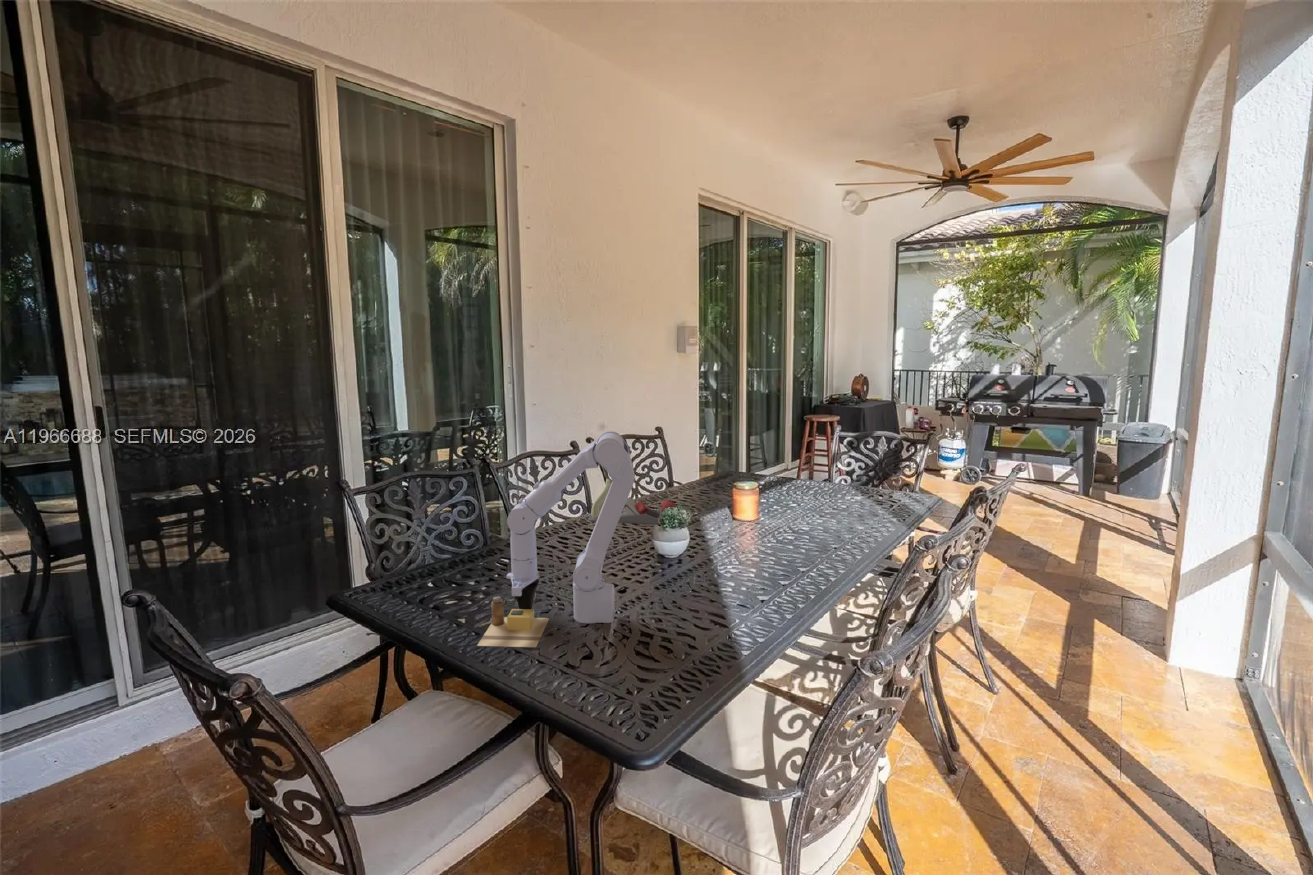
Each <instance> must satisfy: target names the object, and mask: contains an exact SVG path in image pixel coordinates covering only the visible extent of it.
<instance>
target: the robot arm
mask: <svg viewBox="0 0 1313 875" xmlns="http://www.w3.org/2000/svg"><path fill="white" fill-rule="evenodd" d="M630 454H631V453H630V449H629V445H628V444H627V442H626V441H625V440H624V438H623V436H622V435H621V434H619V433H618V432H615V431H612V430H610V431H605V432H603V433H602V434H601V435H599V437H598V439H597V440H596V439H594V440H593V441H591V442H590V443H589V444H588V445H587V446H585V447H584V448H583V449H581V451H579V452H578V453H577V455H576V456H574V457H573V459H572V460H571V461H570V462H568V464H567V465H566V466H564V467H563V469H561V470H560V472H558V473H557V474H556V476H554V477H553V479H546V480H545V479H543V480H542V481H541V482H540V481H536V483H535V484H534V485H533V487H532V488H533V490H531V491H530V492H529V493H528V494H527V495H526V496H525V497H520V499H519V500H518V503H517V504H516V505H515V506H514V507H513V508H512V510H511V511H510V512H509V513H508V515H507V519H506V523H507V527H508V529H509V532H510V538H509V540H510V542H509V543H510V564H511V565H510V567H511V568H510V569H511V572H508V573H507V574H506V579H507V580H510V581H511V585H510V591H511V597H515V600H516V602H517V605H518V609H533V605H534V604H533V603H534V599H535V593H536V590H537V587H538V585H539V583H540V579H538V578H539V571H538V555H537V554H538V553H537V550H538V549H537V535H536V524H535V523H536V522H537V520H538V519H541V518H542V517H543V516H544V515H545V514H547V512H549V511H550V510H551V509H552V508H553V507H554V506H555V505H556V504H557V503H558V502H560V501H561V499H562V491H563V490H564V489H565V488H566V487H567V486H568V485H570V484H571V483H572V482H573V481H574V480H576V478H578V477H579V476H580V475H581V474H582V473H583V472H584V471H585V470H587V469H598V468H599V465H600V466H601V467H602V468H603V469H605V471H607V473H608V475H609V477H610V480H611V481H612V483H611V486H610V488H609V491H608V494H607V496H606V499H605V501H604V504H603V506H602V509H601V512H600V514H599V517H598V519H597V522H596V521H595V524H594V527H593V530H592V533H591V535H590V538H589V540H588V542H587V544H586V547H585V548H584V550H583V551H582V552H580V553H579V554H578V556H577V558H576V564H575V569H574V570H573V573H572V591H573V592H572V596H573V598H572V599H573V619H574V621H576V622H577V623H581V624H597V623H600V624H601V623H604V624H605V623H608V624H610V623H611V624H610V629H612V627H613V622H614V619H615V616H616V608H615V606H616V604H615V585H614V584H612V583H607V582H605V581H606V580H605V579H604V577H603V576H602V572H603V568H604V561H605V558H606V554H607V552H608V550H609V546H610V544H611V541H612V539H613V536H614V535H615V534H614V533H615V531H616V529H617V526H618V524H619V522H618V521H619V519H620V516H621V514H622V511H624V510H625V509H624V508H625V504H626V501H627V500H628V499H627V498H629V497H630V494H631V493H630V492H631V490H632V488H633V486H634V483H635V480H636V479H635V478H636V476H635V471H634V470H635V469H634V466H633V462H632V458H631V457H632V456H631V455H630Z"/></svg>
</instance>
